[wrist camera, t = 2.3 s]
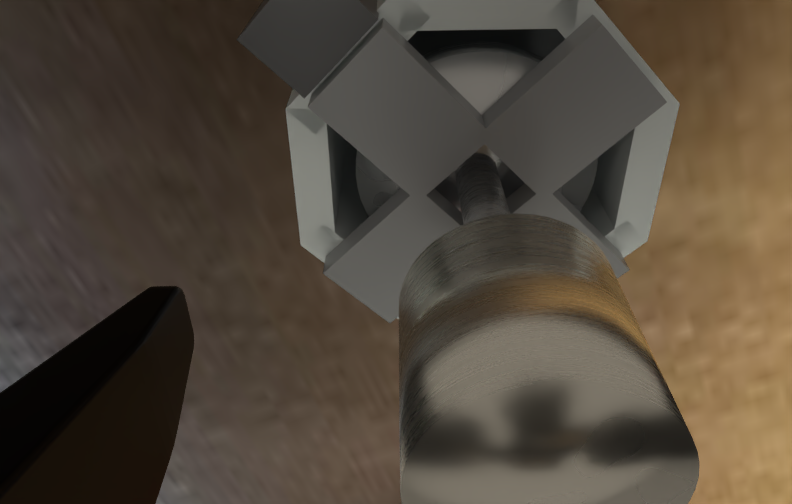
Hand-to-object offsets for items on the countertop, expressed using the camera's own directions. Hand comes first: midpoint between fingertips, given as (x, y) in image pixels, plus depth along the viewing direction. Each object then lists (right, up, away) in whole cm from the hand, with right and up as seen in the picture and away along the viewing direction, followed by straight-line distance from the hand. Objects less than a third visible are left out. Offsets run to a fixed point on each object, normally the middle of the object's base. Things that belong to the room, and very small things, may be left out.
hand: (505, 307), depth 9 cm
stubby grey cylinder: (0, +3, +4) cm, 5 cm away
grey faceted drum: (0, +5, +8) cm, 9 cm away
